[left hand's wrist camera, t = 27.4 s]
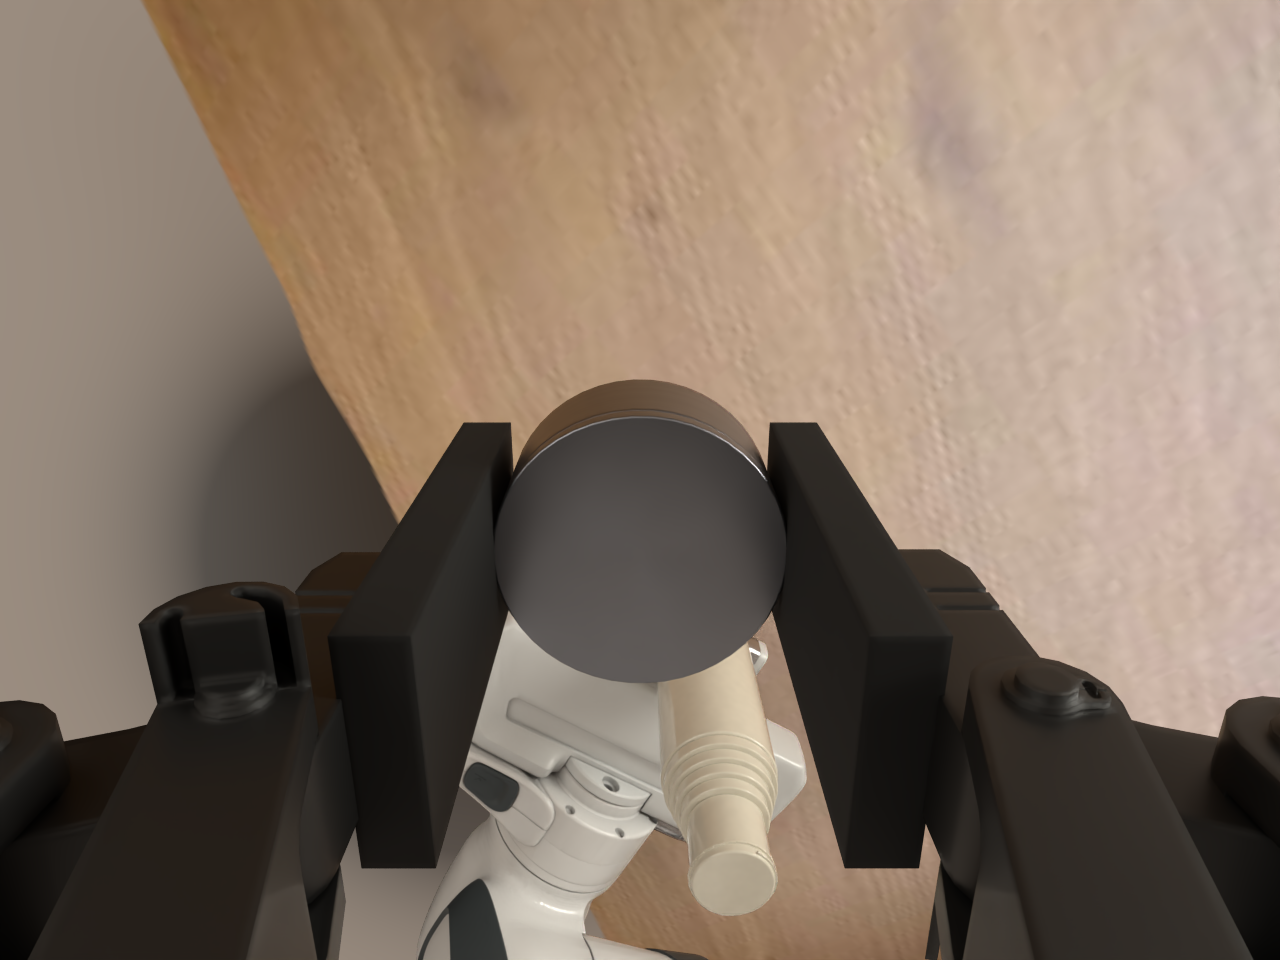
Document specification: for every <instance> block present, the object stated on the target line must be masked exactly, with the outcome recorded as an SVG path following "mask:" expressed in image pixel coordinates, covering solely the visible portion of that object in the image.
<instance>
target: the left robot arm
mask: <svg viewBox="0 0 1280 960" xmlns="http://www.w3.org/2000/svg"><path fill="white" fill-rule="evenodd" d="M767 473H768V475H769V478H770V480H771V483H772V485H773V488H774V491H775V493H776V496H777V498H778V501H779V504H780V506H781V509H782V512H783V514H784V518H785V523H786V528H787V547H786V562H785V576H784V584H783V587H782V589H781V592H780V595H779V597H778V600H777V602H776V604H775V606H774V607H773V609H772V613H773V616H774V620H775V623H776V627H777V630H778V634H779V638H780V641H781V645H782V648H783V652H784V655H785V659H786V662H787V666H788V669H789V673H790V676H791V680H792V683H793V687H794V691H795V694H796V698H797V701H798V705H799V708H800V712H801V715H802V719H803V722H804V726H805V729H806V733H807V736H808V740H809V744H810V747H811V751H812V754H813V758H814V761H815V765H816V768H817V772H818V775H819V779H820V782H821V786H822V789H823V793H824V797H825V800H826V804H827V807H828V811H829V814H830V818H831V821H832V825H833V828H834V832H835V835H836V839H837V842H838V846H839V850H840V853H841V857H842V860H843V864H844V867H845V868H919V865H920V858H921V851H922V845H923V838H924V831H925V824H926V825H927V828H928V830H929V832H930V835H931V837H932V840H933V842H934V844H935V847H936V849H937V851H938V854H939V856H940V859H941V861H940V867H939V873H938V880H937V886H936V892H935V898H934V905H933V911H932V917H931V923H930V930H929V936H928V943H927V949H926V956H925V959H928V960H937V958H938V952H939V947H940V949H941V957H942V960H1280V698H1277V697H1266V696H1261V697H1255V698H1248V699H1242V700H1238V701H1237V702H1236V703H1235V704H1233V705H1232V706H1231V707H1229V708H1228V709H1227V710H1226V712H1225V716H1224V719H1223V723H1222V726H1221V730H1220V733H1219V737H1218V738H1217V737H1212V736H1206V735H1201V734H1196V733H1190V732H1185V731H1180V730H1174V729H1169V728H1164V727H1159V726H1153V725H1149V724H1145V723H1141V722H1137V721H1133V720H1131V718H1130V716H1129V714H1128V712H1127V710H1126V708H1125V706H1124V705H1123V703H1122V702H1121V700H1120V699H1119V698H1118V697H1117V696H1116V694H1115V693H1114V692H1113V691H1112V690H1111V689H1110V687H1109V686H1107V685H1106V684H1104V683H1103V682H1101V681H1099V680H1098V679H1096V678H1095V677H1093V676H1092V675H1090V674H1089V673H1087V672H1085V671H1082V670H1080V669H1077V668H1075V667H1072V666H1070V665H1067V664H1064V663H1062V662H1059V661H1055V660H1050V659H1045V658H1040V657H1039V656H1038V654H1037V653H1036V652H1035V651H1034V649H1033V648H1032V647H1031V646H1030V644H1029V643H1028V642H1027V640H1026V639H1025V638H1024V637H1023V635H1022V634H1021V633H1020V631H1019V630H1018V629H1017V628H1016V626H1015V625H1014V624H1013V623H1012V621H1011V620H1010V619H1009V617H1008V616H1007V615H1006V614H1005V612H1004V611H1003V610H999V605H998V603H997V602H996V601H995V600H994V598H993V597H992V596H991V594H990V593H989V592H986V588H985V587H984V585H983V584H982V583H981V582H980V580H979V579H978V578H977V577H976V575H975V574H974V573H973V571H972V570H971V569H970V568H969V567H968V566H966V565H965V564H963V563H961V562H960V561H958V560H956V559H955V558H953V557H951V556H950V555H948V554H946V553H945V552H943V551H941V550H940V549H897V547H896V546H895V544H894V543H893V541H892V539H891V538H890V536H889V535H888V533H887V532H886V530H885V529H884V527H883V525H882V524H881V522H880V521H879V519H878V518H877V516H876V514H875V513H874V511H873V510H872V508H871V507H870V505H869V503H868V502H867V500H866V499H865V497H864V496H863V494H862V493H861V491H860V489H859V488H858V486H857V485H856V483H855V482H854V480H853V478H852V477H851V475H850V474H849V472H848V471H847V469H846V468H845V466H844V464H843V463H842V461H841V460H840V458H839V457H838V455H837V453H836V452H835V450H834V449H833V447H832V446H831V444H830V443H829V441H828V439H827V438H826V436H825V435H824V433H823V432H822V430H821V428H820V427H819V425H818V424H817V423H770V429H769V447H768V465H767ZM512 475H513V455H512V437H511V423H463V425H462V426H461V428H460V429H459V431H458V433H457V434H456V436H455V437H454V439H453V440H452V442H451V443H450V445H449V447H448V448H447V450H446V451H445V453H444V454H443V456H442V458H441V459H440V461H439V462H438V464H437V465H436V467H435V468H434V470H433V472H432V473H431V475H430V476H429V478H428V479H427V481H426V483H425V484H424V486H423V487H422V489H421V490H420V492H419V494H418V495H417V497H416V498H415V500H414V501H413V503H412V504H411V506H410V508H409V509H408V511H407V512H406V514H405V515H404V517H403V519H402V520H401V522H400V523H399V525H398V526H397V528H396V529H395V531H394V533H393V534H392V536H391V537H390V539H389V540H388V542H387V544H386V545H385V547H384V548H383V550H382V551H381V552H341V553H340V554H338V555H336V556H335V557H333V558H331V559H330V560H328V561H326V562H325V563H323V564H321V565H320V566H318V567H317V568H315V569H313V570H312V571H311V572H310V573H309V574H308V576H307V577H306V578H305V580H304V581H303V582H302V584H301V585H300V586H299V587H298V589H297V590H296V591H295V593H296V594H294V593H293V592H292V591H290V590H289V589H287V588H286V587H285V586H280V585H276V584H271V583H267V582H233V583H227V584H221V585H216V586H210V587H205V588H202V589H199V590H196V591H193V592H190V593H187V594H184V595H181V596H178V597H176V598H174V599H172V600H170V601H168V602H166V603H165V604H163V605H161V606H159V607H157V608H155V609H154V610H153V611H152V612H151V613H149V614H148V615H147V616H146V617H145V618H144V619H143V620H142V621H141V622H140V623H139V628H140V632H141V636H142V641H143V645H144V649H145V653H146V658H147V662H148V666H149V670H150V675H151V679H152V683H153V687H154V691H155V695H156V700H157V706H156V708H155V710H154V712H153V714H152V716H151V718H150V720H149V722H148V724H147V725H143V726H139V727H135V728H131V729H127V730H122V731H116V732H111V733H106V734H101V735H95V736H90V737H85V738H80V739H74V740H69V741H63V738H62V734H61V731H60V727H59V724H58V720H57V717H56V714H55V713H54V712H52V711H51V710H50V709H49V708H47V707H46V706H45V705H44V704H40V703H33V702H27V701H21V700H17V701H5V702H0V960H338V959H339V950H340V943H341V935H342V927H343V919H344V911H345V903H346V900H345V893H344V886H343V880H342V874H341V867H340V862H341V860H342V857H343V855H344V853H345V850H346V848H347V846H348V843H349V841H350V838H351V836H352V834H353V831H354V829H355V827H356V833H357V841H358V847H359V854H360V861H361V867H362V868H436V866H437V862H438V858H439V855H440V851H441V848H442V845H443V841H444V837H445V834H446V830H447V827H448V823H449V820H450V816H451V813H452V809H453V806H454V802H455V799H456V795H457V792H458V788H459V784H460V781H461V777H462V774H463V770H464V767H465V763H466V760H467V756H468V753H469V749H470V746H471V742H472V739H473V735H474V731H475V728H476V724H477V721H478V717H479V714H480V710H481V707H482V703H483V700H484V696H485V693H486V689H487V685H488V682H489V678H490V675H491V671H492V668H493V664H494V661H495V657H496V654H497V650H498V647H499V643H500V640H501V636H502V632H503V629H504V625H505V622H506V618H507V615H508V611H509V610H508V608H507V606H506V604H505V602H504V600H503V598H502V595H501V592H500V590H499V587H498V584H497V580H496V568H495V553H494V527H495V523H496V519H497V515H498V511H499V508H500V506H501V503H502V501H503V498H504V495H505V493H506V490H507V488H508V485H509V483H510V480H511V477H512Z"/></svg>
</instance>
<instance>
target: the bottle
mask: <svg viewBox="0 0 1280 960" xmlns="http://www.w3.org/2000/svg"><path fill="white" fill-rule="evenodd" d="M657 698H658V724H659V749H660V775H661V788H662V792H663V794H664V799H665V803H666V806H667V808H668V810H669V811H670V813H671V815H672V817H673V819H674V821H675V822H676V824H677V826H678V828H679V830H680V831H681V833H682V836H683V838H684V840H685V841H686V842H687V844H688V856H689V871H688V885H689V888H690V890H691V893H692V895H693V896H694V897H695V899H696V900H697V901H698V903H699V904H700V905H701V906H702V907H704V908H705V909H707V910H709V911H711V912H713V913H716V914H719V915H724V916H738V915H744V914H747V913H750V912H753V911H755V910H757V909H758V908H760V907H761V906H763V905H764V904H765V903H766V902H767V901H768V900H769V899H770V898H771V896H772V895H773V893H774V892H775V889H776V886H777V883H778V881H777V871H776V865H775V863H774V860H773V858H772V857H771V853H770V848H769V842H768V837H767V834H768V831H769V828H770V822H771V819H772V814H773V810H774V807H775V801H776V798H777V794H778V771H777V766H776V761H775V757H774V752H773V748H772V744H771V739H770V735H769V731H768V726H767V722H766V717H765V713H764V709H763V704H762V700H761V696H760V691H759V687H758V682H757V678H756V674H755V669H754V665H753V661H752V656H751V652H750V647H749V643H748V642H747V643H746V644H745V645H743V646H742V647H741V648H740V649H738V650H737V651H736V652H735V653H733V654H732V655H731V656H729V657H727V658H726V659H724V660H723V661H721V662H719V663H718V664H716V665H714V666H712V667H710V668H708V669H705V670H703V671H701V672H699V673H696V674H693V675H690V676H687V677H684V678H679V679H675V680H670V681H665V682H657Z"/></svg>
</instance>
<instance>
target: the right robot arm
mask: <svg viewBox="0 0 1280 960" xmlns="http://www.w3.org/2000/svg"><path fill="white" fill-rule="evenodd" d="M748 643H749V647H750V652H751V656H752V661H753V665H754V669H755V674H756V675H757V674H758V672H759V671H760V670H761V668H762V667H763V665H764V664H765V663H766V661H767V658H768V651H767V648H766V644H765V643H763V642H761V641H759V640H757V639H755V638H753V637H752V638H751V639H750V640H749V641H748ZM766 722H767V726H768V731H769V735H770V739H771V744H772V748H773V752H774V757H775V761H776V766H777V771H778V794H777V798H776V801H775V807H774V810H773V814H772V819H771V821H772V820H773V819H774V818H775V817H776V816H777V815H778V814H779V813H780V812H782V811H783V810H784V809H785V808H786V807H787V806H788V804H789V803H790V802H791V801H792V800H793V799H794V798H795V797H796V796H797V795H798V794H799V793H800V791H801V790H802V789H803V787H804V786H805V783H806V779H807V773H806V765H805V759H804V755H803V752H802V749H801V746H800V743H799V740H798V738H797V736H796V734H794V733H793V732H792V731H790V730H788V729H786V728H784V727H782V726H780V725H778V724H776V723H774V722H772V721H770V720H768V719H766ZM459 787H461V788H462V789H463V790H464V791H466V792H467V793H468V794H469V795H470V796H471V797H473V798H474V799H475V800H476V801H477V802H478V803H480V804H481V805H482V806H483V807H484V808H485V809H486V810H487V811H488V812H490V816H489V818H488V819H487V820H486V821H484V822H483V823H481V824H480V825H479V826H478V827H477V828H476V829H475V830H474V831H473V832H472V833H471V834H470V835H469V837H468V838H467V840H466V841H465V843H464V844H463V846H462V847H461V849H460V850H459V852H458V854H457V855H456V857H455V859H454V861H453V862H452V864H451V866H450V867H449V869H448V871H447V873H446V875H445V876H444V878H443V880H442V882H441V884H440V886H439V888H438V890H437V892H436V895H435V897H434V899H433V901H432V904H431V906H430V908H429V911H428V913H427V916H426V918H425V921H424V924H423V927H422V930H421V933H420V937H419V941H418V946H417V960H708V959H707V958H705V957H703V956H700V955H696V954H689V953H681V952H674V951H667V950H660V949H649V948H647V949H643V948H639V947H635V946H631V945H627V944H623V943H619V942H615V941H611V940H607V939H603V938H598V937H594V936H590V935H586V931H585V926H584V921H585V919H586V917H587V914H588V911H589V908H590V905H591V902H592V901H593V899H595V898H596V897H598V896H599V895H601V894H602V893H604V892H605V891H606V890H607V889H608V888H609V887H610V886H611V885H612V884H613V883H614V882H615V881H616V880H617V878H618V877H619V876H620V874H621V873H622V871H623V870H624V869H625V867H626V866H627V865H628V863H629V862H630V861H631V859H632V858H633V857H634V855H635V854H636V853H637V851H638V850H639V849H640V847H641V846H642V845H643V843H644V842H645V841H646V839H647V838H648V836H649V835H650V834H651V832H652V831H653V830H656V831H659V832H661V833H663V834H665V835H667V836H669V837H672V838H674V839H677V840H681V841H684V842H686V841H685V840H684V838H683V836H682V833H681V831H680V830H679V828H678V826H677V824H676V822H675V821H674V819H673V817H672V815H671V813H670V811H669V810H668V808H667V806H666V803H665V799H664V794H663V792H662V788H661V775H660V749H659V724H658V698H657V682H655V683H625V682H617V681H610V680H606V679H602V678H598V677H594V676H591V675H588V674H585V673H583V672H580V671H577V670H575V669H573V668H571V667H569V666H567V665H565V664H563V663H561V662H560V661H558V660H557V659H555V658H553V657H552V656H550V655H549V654H547V653H546V652H545V651H544V650H542V649H541V648H540V647H539V646H538V645H537V644H535V643H534V642H533V641H532V640H531V639H530V638H529V637H528V636H527V634H526V633H525V632H524V631H523V630H522V629H521V628H520V626H519V625H518V623H517V622H516V621H515V619H514V618H513V616H512V615H511V613H510V612H509V611H508V615H507V618H506V622H505V625H504V629H503V632H502V636H501V640H500V643H499V647H498V650H497V654H496V657H495V661H494V664H493V668H492V671H491V675H490V678H489V682H488V685H487V689H486V693H485V696H484V700H483V703H482V707H481V710H480V714H479V717H478V721H477V724H476V728H475V731H474V735H473V739H472V742H471V746H470V749H469V753H468V756H467V760H466V763H465V767H464V770H463V774H462V777H461V781H460V784H459ZM686 843H687V842H686Z"/></svg>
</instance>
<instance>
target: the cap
mask: <svg viewBox="0 0 1280 960" xmlns="http://www.w3.org/2000/svg"><path fill="white" fill-rule="evenodd" d="M786 547H787V528H786V523H785V518H784V514H783V512H782V509H781V506H780V504H779V501H778V498H777V496H776V493H775V491H774V488H773V485H772V483H771V480H770V478H769V475H768V473H767V470H766V468H765V465H764V462H763V460H762V457H761V455H760V452H759V451H758V449H757V447H756V445H755V443H754V441H753V439H752V438H751V437H750V435H749V434H748V432H747V431H746V430H745V428H744V427H743V426H742V425H741V424H740V422H739V421H738V420H737V419H736V418H735V417H734V416H733V415H732V414H731V413H730V412H728V411H727V410H726V409H724V408H723V407H722V406H721V405H719V404H718V403H717V402H715V401H713V400H712V399H710V398H708V397H707V396H705V395H703V394H701V393H699V392H696V391H694V390H692V389H689V388H687V387H684V386H680V385H677V384H673V383H669V382H663V381H656V380H626V381H617V382H612V383H608V384H604V385H600V386H597V387H594V388H592V389H589V390H587V391H584V392H582V393H580V394H578V395H576V396H574V397H573V398H571V399H569V400H567V401H566V402H564V403H563V404H562V405H560V406H559V407H558V408H556V409H555V410H553V411H552V412H551V413H550V414H549V415H548V416H547V417H546V418H545V419H544V420H543V421H542V422H541V423H540V424H539V426H538V427H537V428H536V430H535V431H534V432H533V433H532V435H531V436H530V438H529V439H528V441H527V443H526V445H525V446H524V448H523V450H522V452H521V455H520V457H519V460H518V462H517V465H516V467H515V470H514V472H513V475H512V477H511V480H510V483H509V485H508V488H507V490H506V493H505V495H504V498H503V501H502V503H501V506H500V508H499V511H498V515H497V519H496V523H495V527H494V553H495V568H496V580H497V584H498V587H499V590H500V592H501V595H502V598H503V600H504V602H505V604H506V606H507V608H508V610H509V612H510V613H511V615H512V616H513V618H514V619H515V621H516V622H517V623H518V625H519V626H520V628H521V629H522V630H523V631H524V632H525V633H526V634H527V636H528V637H529V638H530V639H531V640H532V641H533V642H534V643H535V644H537V645H538V646H539V647H540V648H541V649H542V650H544V651H545V652H546V653H547V654H549V655H550V656H552V657H553V658H555V659H557V660H558V661H560V662H561V663H563V664H565V665H567V666H569V667H571V668H573V669H575V670H577V671H580V672H583V673H585V674H588V675H591V676H594V677H598V678H602V679H606V680H610V681H617V682H625V683H655V682H665V681H670V680H675V679H679V678H684V677H687V676H690V675H693V674H696V673H699V672H701V671H703V670H705V669H708V668H710V667H712V666H714V665H716V664H718V663H719V662H721V661H723V660H724V659H726V658H727V657H729V656H731V655H732V654H733V653H735V652H736V651H737V650H738V649H740V648H741V647H742V646H743V645H745V644H746V643H747V642H748V641H749V640H750V639H751V638H752V636H753V635H754V634H755V633H756V632H757V631H758V630H759V629H760V627H761V626H762V625H763V623H764V622H765V621H766V619H767V618H768V616H769V615H770V613H771V611H772V609H773V607H774V606H775V604H776V602H777V600H778V597H779V595H780V592H781V589H782V587H783V584H784V576H785V562H786Z"/></svg>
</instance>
